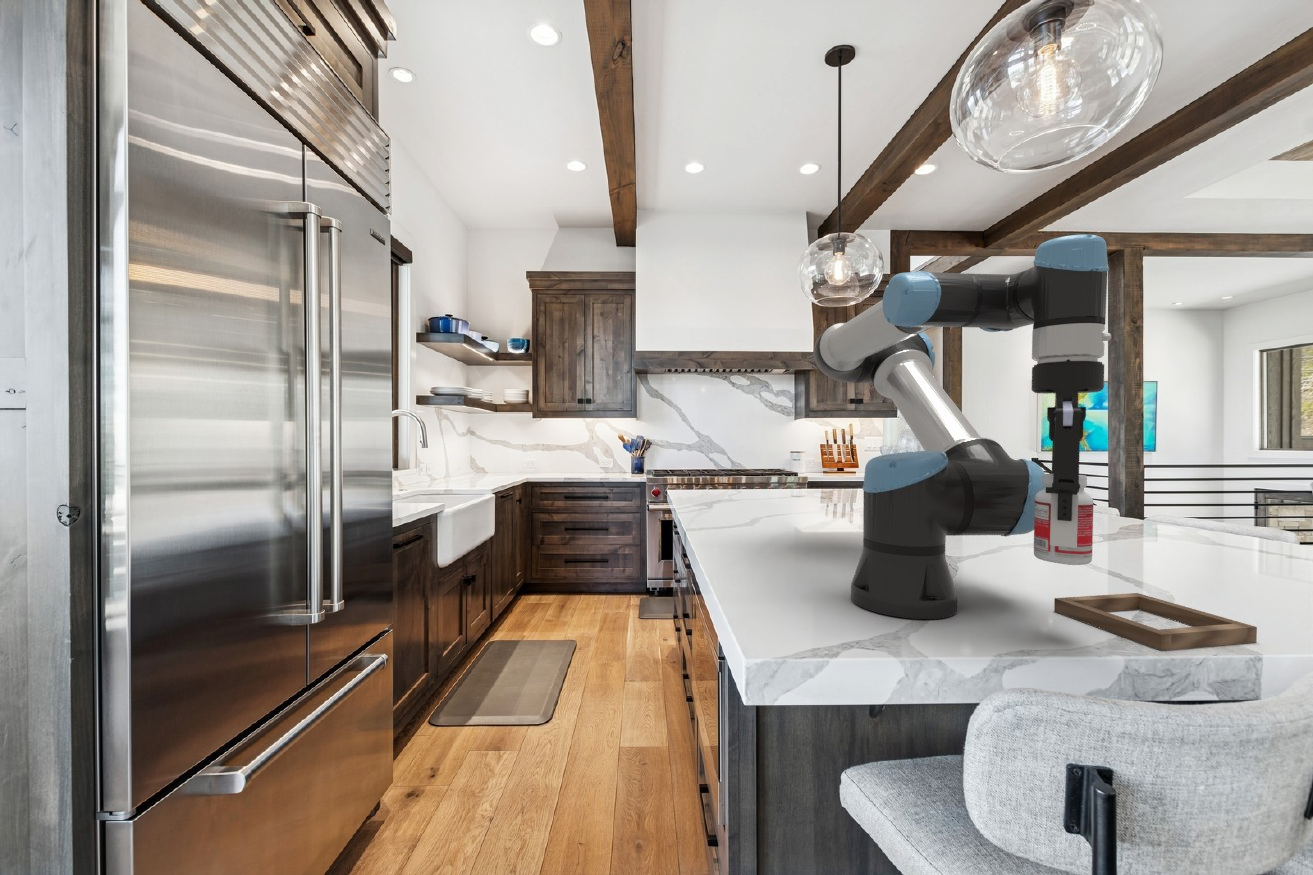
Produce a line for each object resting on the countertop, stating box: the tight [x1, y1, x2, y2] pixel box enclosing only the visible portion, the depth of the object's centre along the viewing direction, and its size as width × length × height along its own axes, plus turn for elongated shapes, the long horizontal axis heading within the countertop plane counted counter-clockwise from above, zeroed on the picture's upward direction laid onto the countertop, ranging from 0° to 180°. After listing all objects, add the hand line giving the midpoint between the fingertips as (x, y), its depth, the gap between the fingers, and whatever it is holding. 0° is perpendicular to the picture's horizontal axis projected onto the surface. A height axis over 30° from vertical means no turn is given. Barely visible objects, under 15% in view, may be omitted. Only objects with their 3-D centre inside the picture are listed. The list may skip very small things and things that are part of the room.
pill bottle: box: [1033, 473, 1094, 566], centre depth 74 cm, size 6×6×11 cm
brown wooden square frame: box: [1053, 592, 1258, 651], centre depth 79 cm, size 15×15×2 cm
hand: (1062, 541), depth 74 cm, fingers closed on pill bottle, 6 cm apart
